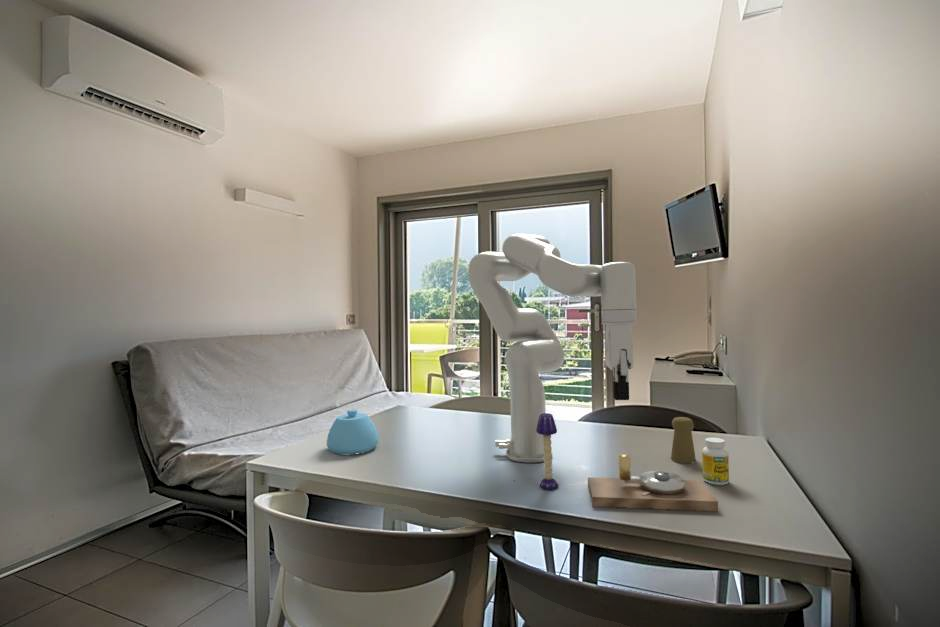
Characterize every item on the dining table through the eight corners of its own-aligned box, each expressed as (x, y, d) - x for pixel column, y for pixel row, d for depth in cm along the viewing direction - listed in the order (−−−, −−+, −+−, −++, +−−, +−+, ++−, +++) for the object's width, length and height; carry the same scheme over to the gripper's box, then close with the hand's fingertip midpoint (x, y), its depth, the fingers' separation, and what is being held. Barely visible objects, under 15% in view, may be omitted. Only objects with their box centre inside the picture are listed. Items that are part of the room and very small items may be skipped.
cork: (698, 464, 121) (698, 420, 121) (673, 463, 123) (672, 420, 122) (692, 456, 127) (692, 415, 127) (668, 455, 129) (667, 414, 128)
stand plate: (592, 506, 98) (592, 495, 98) (588, 486, 109) (587, 476, 109) (718, 511, 94) (717, 500, 94) (700, 489, 105) (700, 479, 105)
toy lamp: (558, 491, 106) (556, 416, 106) (537, 491, 107) (535, 416, 106) (558, 483, 111) (556, 412, 110) (538, 482, 112) (536, 411, 111)
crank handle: (678, 478, 106) (677, 450, 106) (690, 495, 97) (690, 464, 97) (616, 476, 108) (615, 449, 108) (622, 492, 99) (622, 462, 99)
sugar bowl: (375, 439, 152) (374, 403, 152) (382, 453, 138) (381, 412, 137) (326, 445, 147) (325, 407, 147) (327, 459, 133) (326, 418, 133)
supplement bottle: (717, 476, 113) (716, 435, 113) (734, 484, 108) (734, 441, 108) (697, 478, 112) (696, 437, 112) (714, 487, 107) (713, 444, 106)
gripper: (598, 317, 115) (600, 393, 115) (605, 319, 100) (608, 406, 101) (630, 316, 114) (632, 393, 114) (643, 318, 99) (645, 406, 100)
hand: (621, 399), depth 108 cm, fingers closed
